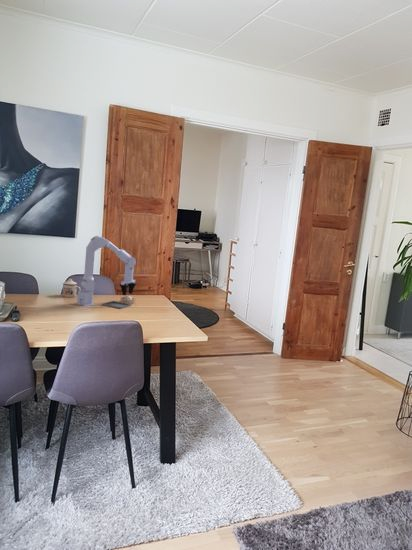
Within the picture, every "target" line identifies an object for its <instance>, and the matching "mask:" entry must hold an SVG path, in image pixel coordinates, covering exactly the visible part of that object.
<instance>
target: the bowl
mask: <svg viewBox="0 0 412 550" xmlns="http://www.w3.org/2000/svg"><path fill="white" fill-rule="evenodd" d="M131 297H132V296H131ZM136 299H137V298H135V297H132V300H126V299H125V296H120V299H119V300H120V301H119V302H122V303H127V304H131V305H135V304H136Z"/></svg>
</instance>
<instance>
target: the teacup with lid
mask: <svg viewBox="0 0 412 550" xmlns="http://www.w3.org/2000/svg"><path fill="white" fill-rule="evenodd" d="M62 284H63V285H62V288H63V289H62V296H63V297H65V298H75V297H77V295H78V293H79V292H81V289H82V287H81V286H78V283H77V282H76V281H73V279H72V278H68V280H66V281H64V282H63V283H62ZM77 288H78V292H77Z"/></svg>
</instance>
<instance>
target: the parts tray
mask: <svg viewBox="0 0 412 550" xmlns="http://www.w3.org/2000/svg"><path fill="white" fill-rule="evenodd" d="M101 305H102V306H104V307H109V308H115V309H119V310H122V309H125V308H128V307H132V304H127V303H122V302H120V301H116V300H111V301H108V302H104V303H102V304H101Z"/></svg>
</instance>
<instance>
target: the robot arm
mask: <svg viewBox="0 0 412 550" xmlns="http://www.w3.org/2000/svg"><path fill="white" fill-rule="evenodd" d="M104 247H105V248H108V249H110V251H112V252H113V253H114V254H116V257H117V258H119V259H120V260H121V261H122V262H124V264H125V265H124V266H125V267H124V276H123V277H124V279H123V280H122V281H120V284H119V286H120V288H121V294H122V295H123V296H125V295H127V291H128V294H130V295H131V294H133V292H134V289H135V287H136V285H137V283H136V279H134V270H135V265H136V264H137V261H136V258H135V257H133V256H131V254H129V253H128V252H126V249H119V247H117V246H116V245H115V244H114V243H112V242H111V241H110V240H108V239H107V238H105V237H103V236H99V235H94V236H93V237H92V238H90V241H89V242H88V244H87V246H86V248H85V260H84V261H85V262H84V274H83V276H82V278H81V282H80V288H81V291H80V292H79V291H78V292H79V293H77V302H76V305H77V306H78V305H79V306H84V307H89V306H92V305H96V303H94V302H93V301H94V300H93V299H94V290H95V288H96V285H95V278H94V267H95V252H96V251H97V250H99V249H101V248H104Z"/></svg>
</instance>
